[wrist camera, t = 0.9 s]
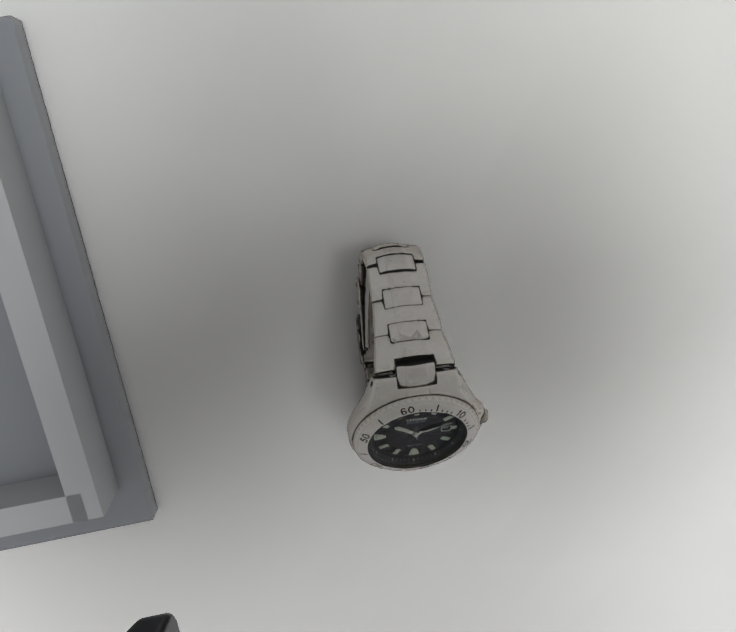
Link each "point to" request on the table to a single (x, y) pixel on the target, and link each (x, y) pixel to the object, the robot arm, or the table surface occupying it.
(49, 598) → the table surface
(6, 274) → the grey tray
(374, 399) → the wristwatch
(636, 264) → the table surface
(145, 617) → the robot arm
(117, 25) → the table surface
